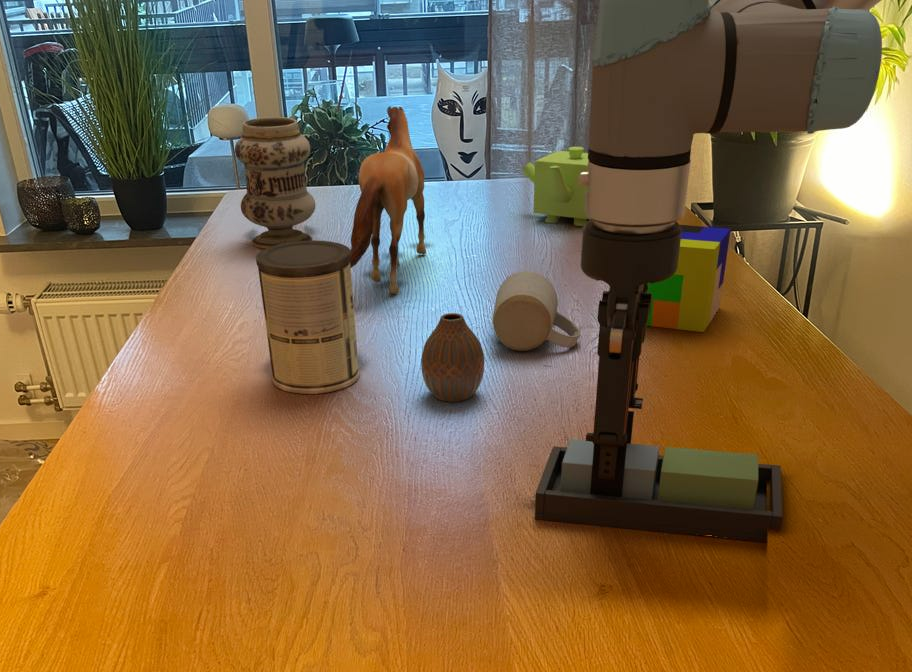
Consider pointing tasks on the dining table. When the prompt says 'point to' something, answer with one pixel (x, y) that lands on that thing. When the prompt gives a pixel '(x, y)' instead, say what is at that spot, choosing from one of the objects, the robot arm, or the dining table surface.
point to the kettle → (560, 185)
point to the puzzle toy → (692, 281)
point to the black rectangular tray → (660, 507)
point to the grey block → (636, 471)
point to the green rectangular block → (709, 478)
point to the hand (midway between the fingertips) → (608, 491)
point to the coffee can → (309, 315)
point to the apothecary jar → (275, 179)
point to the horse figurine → (388, 196)
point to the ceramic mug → (530, 313)
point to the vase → (452, 360)
